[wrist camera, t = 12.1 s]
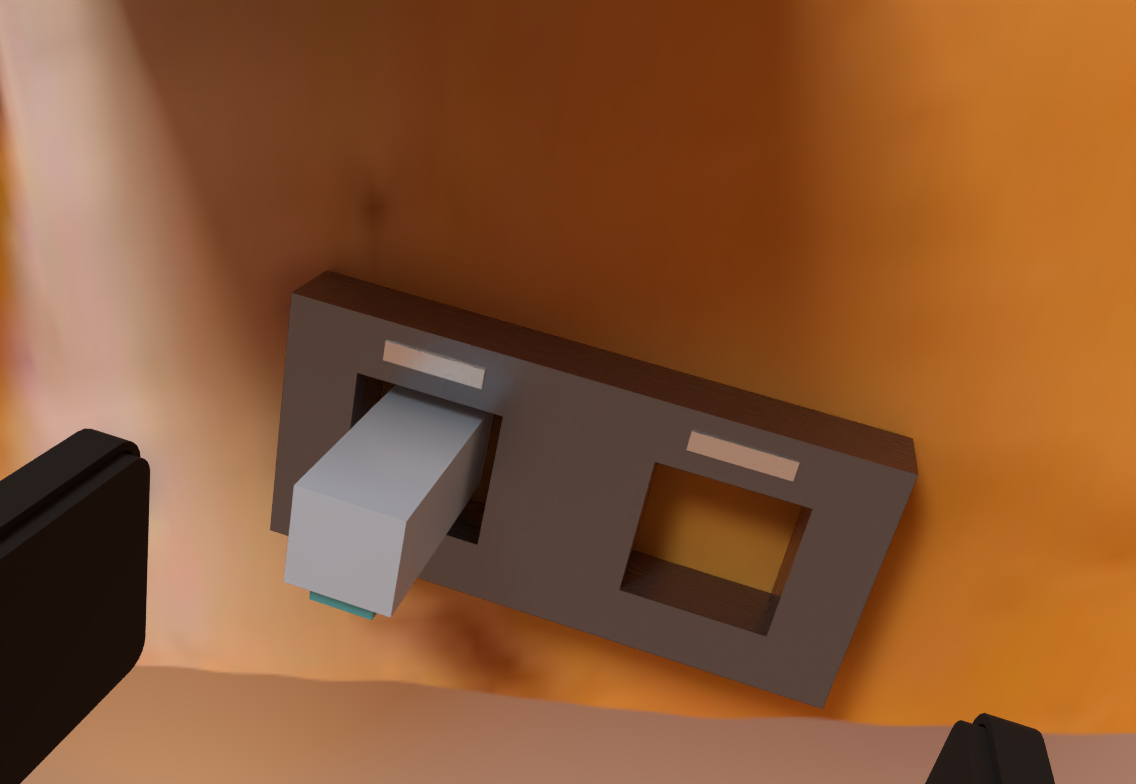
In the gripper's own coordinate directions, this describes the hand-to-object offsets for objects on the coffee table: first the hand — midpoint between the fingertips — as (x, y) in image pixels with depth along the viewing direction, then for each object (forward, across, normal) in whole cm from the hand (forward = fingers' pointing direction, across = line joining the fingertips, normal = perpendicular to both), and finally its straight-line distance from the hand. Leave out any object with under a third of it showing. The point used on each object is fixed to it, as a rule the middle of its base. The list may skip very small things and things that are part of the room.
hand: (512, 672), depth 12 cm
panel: (+28, +3, +14) cm, 31 cm away
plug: (+28, +9, +14) cm, 33 cm away
